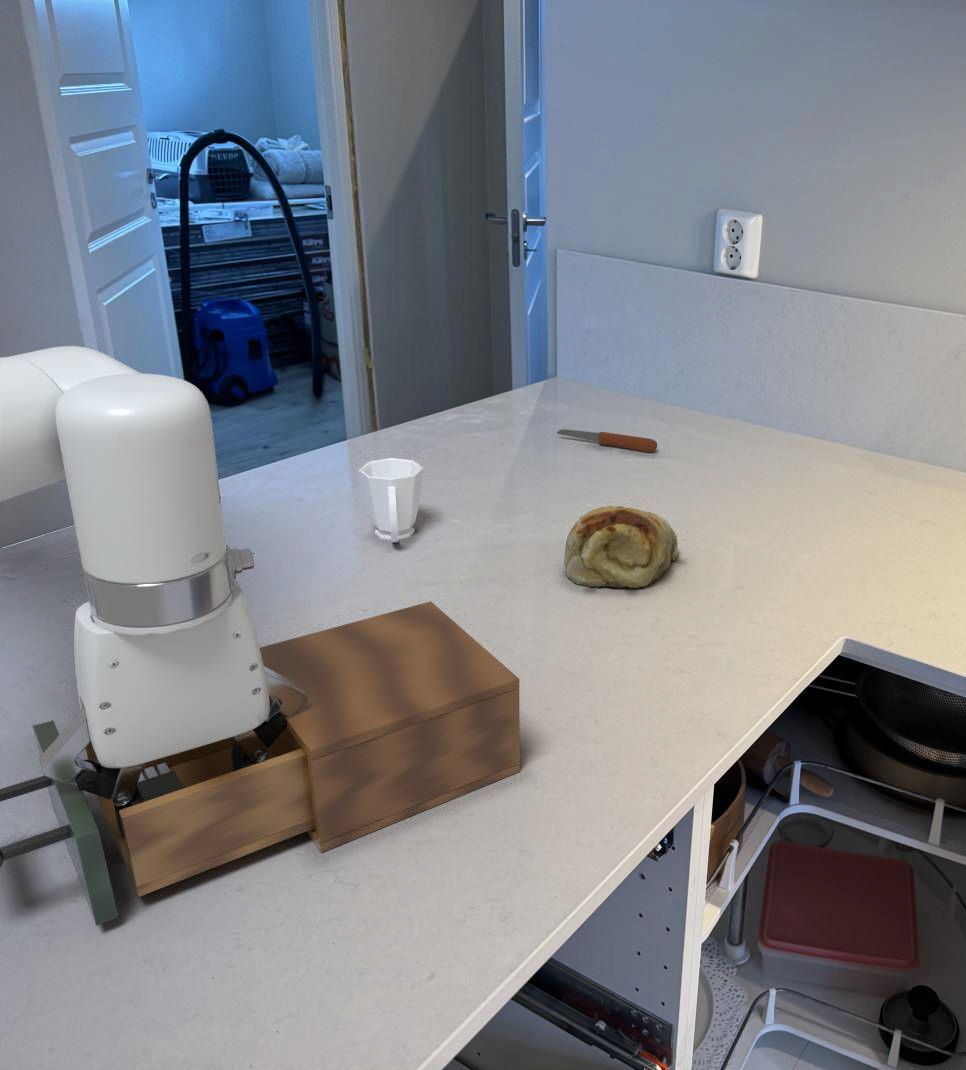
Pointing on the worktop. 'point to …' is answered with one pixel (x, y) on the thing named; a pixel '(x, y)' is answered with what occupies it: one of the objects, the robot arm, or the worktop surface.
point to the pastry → (619, 548)
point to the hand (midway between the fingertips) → (195, 817)
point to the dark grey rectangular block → (158, 782)
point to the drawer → (176, 817)
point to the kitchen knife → (614, 439)
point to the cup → (392, 495)
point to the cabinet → (396, 718)
